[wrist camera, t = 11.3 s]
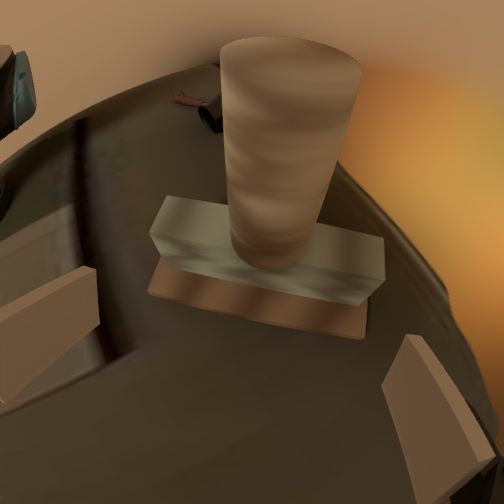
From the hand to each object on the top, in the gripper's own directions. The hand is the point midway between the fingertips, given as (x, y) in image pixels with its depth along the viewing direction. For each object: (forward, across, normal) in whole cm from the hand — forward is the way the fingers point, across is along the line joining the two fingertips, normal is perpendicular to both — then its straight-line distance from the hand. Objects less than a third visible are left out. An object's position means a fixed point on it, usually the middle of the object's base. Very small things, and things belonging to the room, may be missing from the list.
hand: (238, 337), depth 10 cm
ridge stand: (+17, 0, -3) cm, 17 cm away
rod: (+12, 0, +2) cm, 12 cm away
